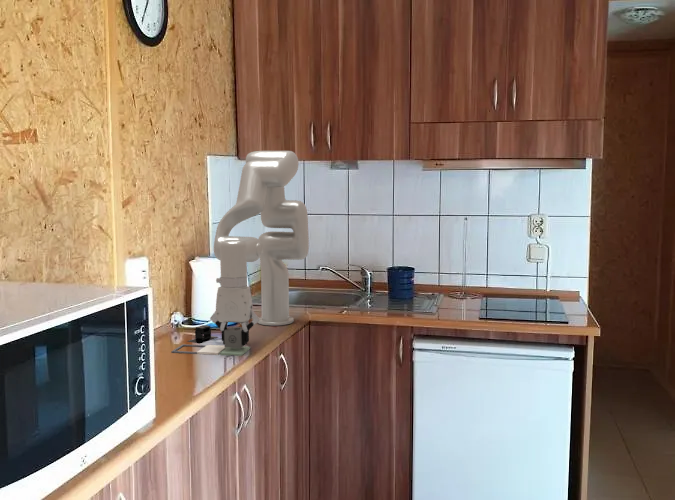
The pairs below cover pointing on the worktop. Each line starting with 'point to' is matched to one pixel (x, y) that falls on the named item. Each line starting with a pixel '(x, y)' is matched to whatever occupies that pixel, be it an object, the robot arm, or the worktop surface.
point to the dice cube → (233, 337)
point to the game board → (214, 350)
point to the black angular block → (199, 334)
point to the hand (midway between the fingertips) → (235, 343)
